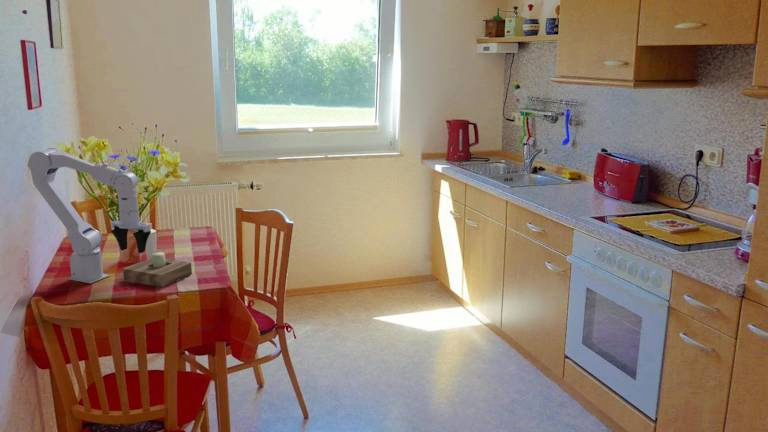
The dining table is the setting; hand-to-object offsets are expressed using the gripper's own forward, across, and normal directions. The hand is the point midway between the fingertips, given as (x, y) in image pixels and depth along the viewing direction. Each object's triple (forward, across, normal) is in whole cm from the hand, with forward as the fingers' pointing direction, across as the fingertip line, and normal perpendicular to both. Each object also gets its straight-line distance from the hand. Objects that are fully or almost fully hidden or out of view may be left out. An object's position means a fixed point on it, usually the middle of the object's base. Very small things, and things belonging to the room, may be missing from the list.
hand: (132, 250), depth 207 cm
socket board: (+9, +6, +4) cm, 12 cm away
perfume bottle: (+10, -5, +13) cm, 17 cm away
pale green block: (+8, +6, +5) cm, 11 cm away
